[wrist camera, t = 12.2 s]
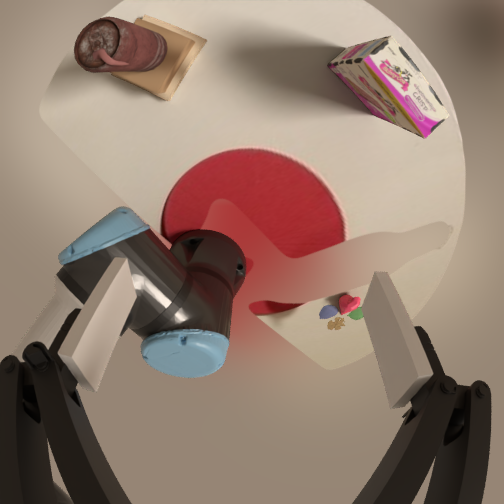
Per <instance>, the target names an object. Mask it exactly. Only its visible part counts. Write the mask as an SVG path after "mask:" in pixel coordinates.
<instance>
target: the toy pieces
mask: <svg viewBox="0 0 504 504" xmlns="http://www.w3.org/2000/svg"><path fill="white" fill-rule="evenodd" d="M359 305H360V298H359V297H354V298H353V297H352V296H350V295H343V296H342V297H341V298H340V299H339V307H340V312H341V315H343V314H345V313H348V312H350V311H352V312H351V313H350V314H349V315H347V316H349V317H350V318H352V319H354V320H358V319H361V318H363V317H364V316H363V313H362V310H361V308H362V307H358V306H359ZM337 313H338V309H337V308H336V307H335V306H332V305H327V306H324V307H323V308H322V309H321V311H320V313H319V315H320V319H327V318H330V317H333V316H334V315H336V314H337ZM339 319H341V320H340V321H339ZM343 321H344V318H340V317H337V318H335V322H332V320H330V321H329V322H328V325H327V326H328V329H330V330H332V329H333V328H335V330H339V329H341V327H340V326H345V325H344V323H345V322H344V323H342V322H343Z"/></svg>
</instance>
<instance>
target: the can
mask: <svg viewBox="0 0 504 504" xmlns="http://www.w3.org/2000/svg"><path fill="white" fill-rule="evenodd" d="M167 48H168V47H167V42H166V40H165V39H164V37H163V36H162V35H160V34H159V33H157V32H154V31H152V30H149V29H147V28H144V27H141V26H139V25H136V24H133V23H130V22H127V21H124V20H121V19H118V18H114V17H104V18H100V19H98V20H95V21H93V22H91V23H89V24H88V25H87V26H86V27H85V28H84V29H83V30H82V31H81V32H80V34H79V35H78V37H77V40H76V42H75V47H74V55H75V59H76V61H77V63H78V64H79V65H80V66H81V67H82V68H84V69H85V70H86V71H89V72H93V73H95V72H147V71H150V70H153V69H155V68H156V67H158V66H159V65H160V64H161V63H162V62H163V61H164V59H165V56H166V54H167Z"/></svg>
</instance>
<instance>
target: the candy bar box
mask: <svg viewBox="0 0 504 504" xmlns="http://www.w3.org/2000/svg"><path fill="white" fill-rule="evenodd" d="M327 66H328V67H329V68H330V69H331V70H332V71H333V72H334V73H335V74H336V75H337V76H338V77H339V78H340V79H341V80H342V81H343V82H344V83H345V84H346V85H347V86H348V87H349V88H350V89H351V90H352V91H353V92H354V93H355V94H356V96H357V97H358V98H359V99H360V100H361V101H362V102H363V103H364V105H365V106H366V107H367V108H368V109H369V110H370V111H371V113H372V114H373V115H374V116H376V117H378V118H381V119H383V120H386V121H388V122H390V123H392V124H395V125H397V126H399V127H401V128H403V129H406V130H408V131H410V132H412V133H414V134H416V135H418V136H420V137H422V138H424V139H425V138H426V137H427V136H428V135H430V134H431V133H432V132H433V130H434V129H435V128H436V127H438V126H439V125H440V124H441V123H442V122H443V121H444V120H445V119H446V118H447V117H449V114H448V113H447V111H446V109H445V108H444V106H443V104H442V103H441V101H440V100H439V98H438V96H437V95H436V93H435V92H434V90H433V89H432V87H431V86H430V84H429V83H428V81H427V80H426V79H425V77H424V76H423V74H422V73H421V72H420V70H419V69H418V68H417V66H416V65H415V63H414V62H413V61H412V60H411V58H410V57H409V56H408V55H407V53H406V52H405V51H404V50H403V48H402V47H401V46H400V45H399V44H398V43H397V41H396V40H395V39H394V38H393V37H392V36H388V37H384V38H380V39H376V40H372V41H368V42H365V43H361V44H358V45H355V46H351V47H348V48H346V49H345V50H344V51H343V52H342V53H340V54H339V55H338V56H337V57H336V58H335V59H334V60H332V61H331V62H330V63H329V64H328V65H327Z"/></svg>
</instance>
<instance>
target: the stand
mask: <svg viewBox="0 0 504 504" xmlns="http://www.w3.org/2000/svg"><path fill="white" fill-rule="evenodd" d="M134 24H136V25H139V26H141V27H144V28H147V29H149V30H152V31H154V32H157V33H159V34H160V35H162V36H163V37H164V39H165V40H166V42H167V47H168V48H167V54H166V56H165V59H164V61H163V62H162V63H161V64H160V65H159V66H158V67H156V68H155V69H153V70H150V71H147V72H110V73H112V74H111V75H113V76H115V77H117V78H120V79H122V80H124V81H126V82H129V83H131V84H133V85H135V86H137V87H140V88H142V89H144V90H146V91H148V92H150V93H152V94H154V95H156V96H158V97H160V98H162V99H164V100H166V101H170V100H171V98H172V97H173V95H174V93H175V91H176V90H177V88H178V86H179V84H180V83H181V81H182V79H183V78H184V76H185V74H186V73H187V71H188V69H189V68H190V66H191V65H192V63H193V61H194V60H195V58H196V57H197V55H198V54H199V52H200V51H201V49H202V48H203V46H204V45H205V43H206V42H207V40H206V39H204V38H202V37H199V36H197V35H195V34H193V33H190V32H188V31H186V30H183V29H181V28H179V27H176V26H174V25H171V24H169V23H166V22H163V21H161V20H158V19H155V18H153V17H150V16H147V15H144V17H143V18H142V19H139V18H137V19H136V21H135V23H134Z"/></svg>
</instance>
